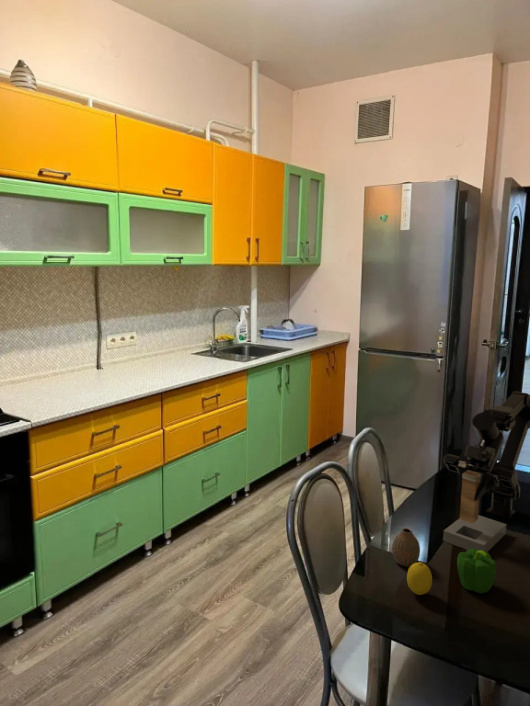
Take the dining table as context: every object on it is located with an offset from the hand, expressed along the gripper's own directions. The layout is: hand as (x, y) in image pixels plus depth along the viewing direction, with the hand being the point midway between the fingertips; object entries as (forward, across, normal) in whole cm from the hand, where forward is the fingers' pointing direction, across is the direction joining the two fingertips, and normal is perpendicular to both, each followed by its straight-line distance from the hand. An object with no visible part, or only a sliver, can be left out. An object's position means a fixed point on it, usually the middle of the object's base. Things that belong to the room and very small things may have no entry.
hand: (468, 497), depth 139 cm
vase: (+24, -7, -4) cm, 25 cm away
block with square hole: (+6, 0, +13) cm, 14 cm away
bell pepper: (+22, +10, -3) cm, 24 cm away
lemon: (+30, +2, -12) cm, 33 cm away
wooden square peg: (+4, 0, +6) cm, 7 cm away
